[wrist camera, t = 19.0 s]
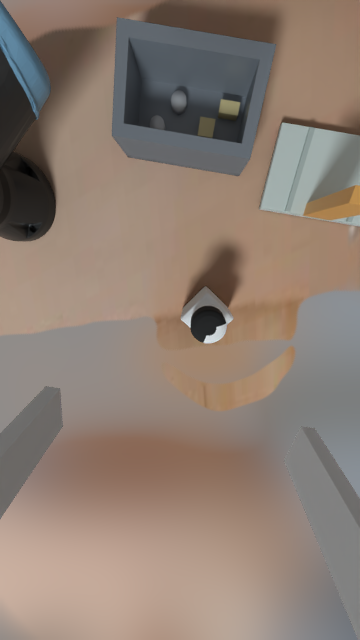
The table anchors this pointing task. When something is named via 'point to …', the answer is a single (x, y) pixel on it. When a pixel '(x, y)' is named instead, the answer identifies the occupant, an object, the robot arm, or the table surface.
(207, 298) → the medicine bottle
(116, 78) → the tub
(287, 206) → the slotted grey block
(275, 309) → the table surface
